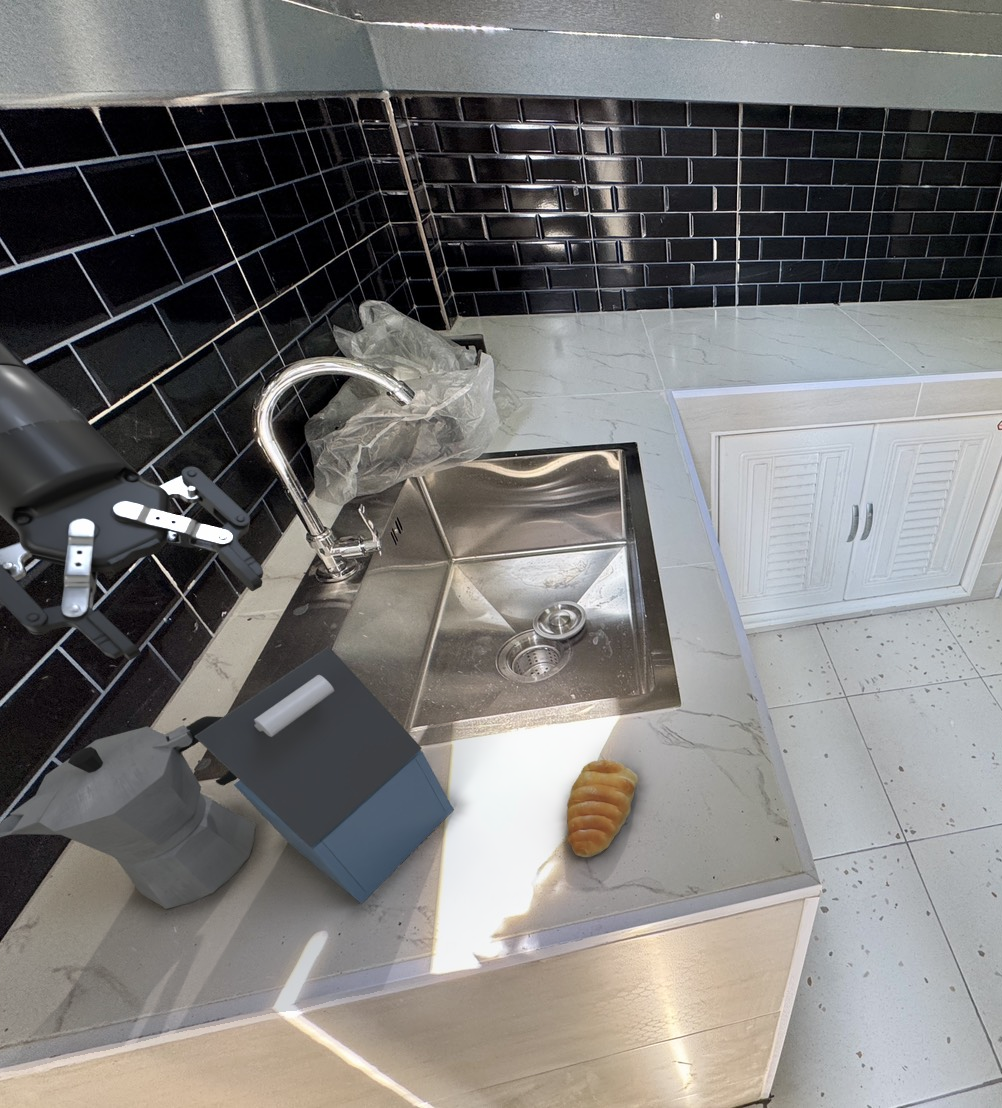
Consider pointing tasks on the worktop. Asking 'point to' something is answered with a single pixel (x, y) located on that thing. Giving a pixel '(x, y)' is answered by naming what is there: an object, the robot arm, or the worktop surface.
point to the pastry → (599, 806)
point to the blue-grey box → (373, 828)
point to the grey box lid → (311, 745)
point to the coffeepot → (143, 813)
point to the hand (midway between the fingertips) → (199, 619)
